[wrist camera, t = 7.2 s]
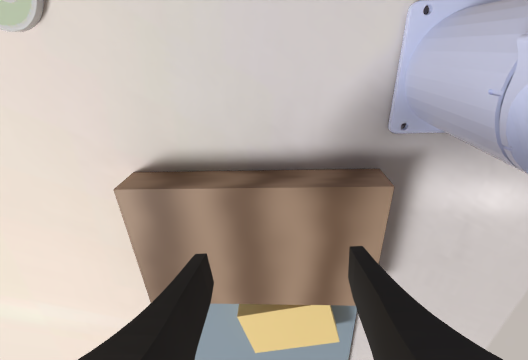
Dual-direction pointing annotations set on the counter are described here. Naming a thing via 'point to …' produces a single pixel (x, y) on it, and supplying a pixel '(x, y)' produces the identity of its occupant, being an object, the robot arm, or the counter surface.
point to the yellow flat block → (287, 325)
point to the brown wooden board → (257, 230)
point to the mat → (243, 355)
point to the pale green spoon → (20, 14)
